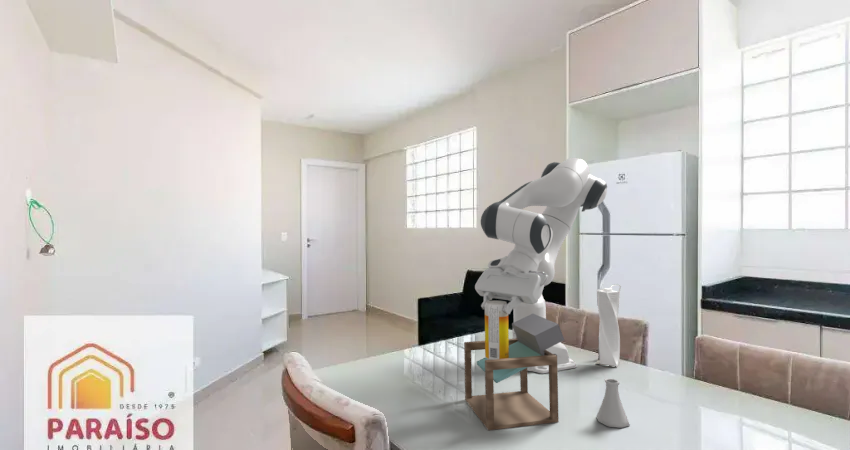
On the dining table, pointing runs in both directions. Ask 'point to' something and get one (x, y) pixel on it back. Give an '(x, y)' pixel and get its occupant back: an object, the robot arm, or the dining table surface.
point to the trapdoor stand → (511, 405)
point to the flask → (612, 407)
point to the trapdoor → (528, 342)
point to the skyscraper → (608, 326)
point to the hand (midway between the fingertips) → (494, 310)
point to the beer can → (496, 331)
